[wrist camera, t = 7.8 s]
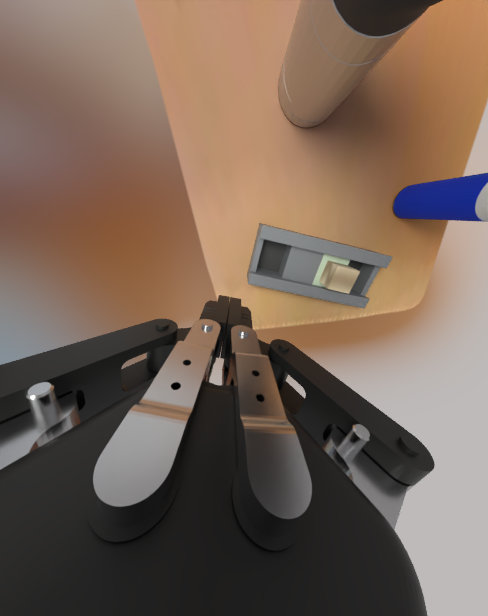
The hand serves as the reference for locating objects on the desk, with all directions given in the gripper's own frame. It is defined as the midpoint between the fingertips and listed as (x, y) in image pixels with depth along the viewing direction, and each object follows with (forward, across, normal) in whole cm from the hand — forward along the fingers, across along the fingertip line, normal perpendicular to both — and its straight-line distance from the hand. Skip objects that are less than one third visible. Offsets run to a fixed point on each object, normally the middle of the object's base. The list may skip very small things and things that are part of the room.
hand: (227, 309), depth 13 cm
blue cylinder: (+27, -28, -14) cm, 41 cm away
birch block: (+23, -18, 0) cm, 29 cm away
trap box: (+27, -15, 0) cm, 31 cm away
